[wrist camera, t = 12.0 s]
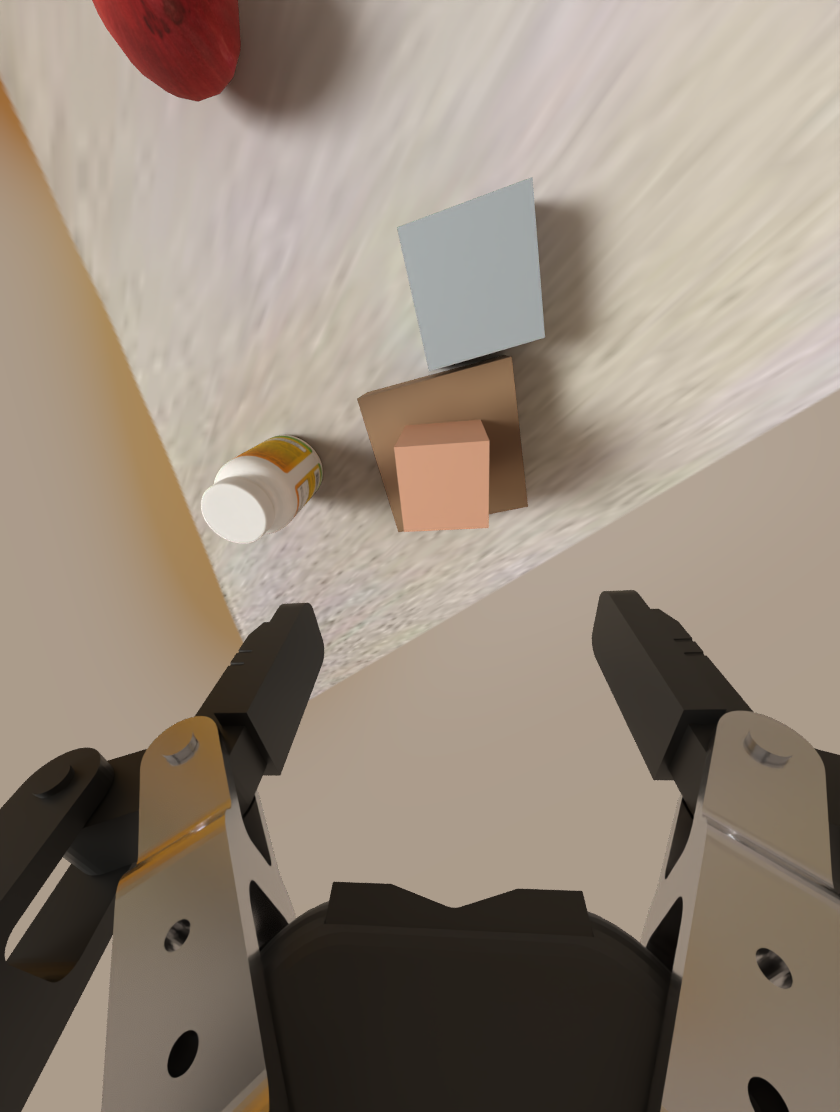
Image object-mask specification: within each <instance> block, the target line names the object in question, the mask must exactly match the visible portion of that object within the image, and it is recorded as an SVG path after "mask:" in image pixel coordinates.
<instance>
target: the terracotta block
mask: <svg viewBox="0 0 840 1112" xmlns="http://www.w3.org/2000/svg"><path fill="white" fill-rule="evenodd" d="M394 452H395V460H396V468H397V477H398V485H399V494H400V502H401V510H402V519H403V527H404V532H409V531H431V530H453V529H475V528H488V527H489V438H488V436H487V434H486V431H485V429H484V426H483V424H482V422H481V420H469V421H456V422H443V423H429V424H416V425H406V426H405V427H404V429H403V431H402V433H401V435H400V437H399V439H398V441H397V443H396V445H395V446H394Z"/></svg>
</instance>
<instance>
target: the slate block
mask: <svg viewBox="0 0 840 1112" xmlns="http://www.w3.org/2000/svg"><path fill="white" fill-rule="evenodd" d="M397 230H398V234H399V239H400V243H401V248H402V252H403V257H404V261H405V266H406V270H407V275H408V279H409V284H410V288H411V293H412V297H413V302H414V306H415V311H416V315H417V319H418V324H419V328H420V333H421V337H422V342H423V346H424V351H425V355H426V360H427V364H428V369H429V371H432V370H435V369H439V368H442V367H446V366H449V365H453V364H456V363H459V362H463V361H466V360H470V359H473V358H477V357H480V356H484V355H487V354H490V353H494V352H497V351H501V350H504V349H508V348H511V347H514V346H518V345H521V344H525V343H528V342H532V341H535V340H539V339H542V338H545V331H544V319H543V306H542V293H541V280H540V268H539V255H538V242H537V229H536V217H535V204H534V191H533V179H532V177H531V178H529V179H526V180H523V181H521V182H518V183H515V184H512V185H510V186H507V187H504V188H502V189H499V190H496V191H494V192H491V193H488V194H486V195H483V196H480V197H477V198H475V199H472V200H469V201H467V202H464V203H461V204H459V205H456V206H453V207H451V208H448V209H445V210H443V211H440V212H437V213H434V214H432V215H429V216H426V217H424V218H421V219H418V220H416V221H413V222H410V223H408V224H405V225H402V226H399V227H397Z"/></svg>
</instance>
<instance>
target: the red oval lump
mask: <svg viewBox="0 0 840 1112" xmlns="http://www.w3.org/2000/svg"><path fill="white" fill-rule="evenodd" d="M92 1H93V3H94V5H95V8H96V10H97V12H98V14H99V16H100V18H101V20H102V21H103V23H104V25H105V27H106V28H107V30H108V31H109V32H110V34H111V35H112V37H113V38H114V39H115V41H116V42H117V43H118V45H119V46H120V48H121V49H122V50H123V52H124V53H125V54H126V56H127V57H128V58H129V60H130V61H131V63H132V64H133V65H134V66H135V67H136V68H137V69H138V70H139V71H140V72H141V73H142V74H143V75H144V76H146V77H147V78H148V79H150V80H151V81H153V82H154V83H155V84H157V85H158V86H160V87H161V88H162V89H164V90H165V91H167V92H168V93H171V94H173V95H175V96H177V97H180V98H184V99H189V100H194V101H201V100H203V99H206V98H209V97H212V96H215V95H218V94H220V93H221V92H222V91H223V89H224V88H225V87H226V86H227V84H228V83H229V82H230V81H231V79H232V78H233V76H234V72H235V69H236V65H237V61H238V58H239V54H240V47H241V41H240V25H239V9H238V0H92Z"/></svg>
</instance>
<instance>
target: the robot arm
mask: <svg viewBox="0 0 840 1112" xmlns="http://www.w3.org/2000/svg"><path fill="white" fill-rule="evenodd" d="M592 646H593V651H594V655H595V658H596V660H597V662H598V664H599V666H600V668H601V670H602V672H603V675H604V677H605V679H606V681H607V683H608V685H609V687H610V689H611V691H612V694H613V695H614V698H615V700H616V702H617V704H618V706H619V708H620V710H621V712H622V714H623V716H624V719H625V721H626V723H627V725H628V727H629V729H630V731H631V733H632V736H633V738H634V740H635V742H636V744H637V746H638V748H639V750H640V752H641V754H642V756H643V759H644V761H645V763H646V765H647V767H648V769H649V771H650V773H651V775H652V778H653V780H674V781H675V783H676V785H677V787H678V788H679V791H680V792H681V795H680V797H679V799H678V802H677V807H676V811H675V815H674V819H673V824H672V828H671V832H670V836H669V840H668V845H667V849H666V853H665V858H664V862H663V866H662V870H661V875H660V879H659V883H658V886H657V889H656V893H655V896H654V898H653V901H652V903H651V906H650V909H649V912H648V915H647V918H646V921H645V925H644V929H643V932H642V937H641V940H640V943H639V942H638V941H637V940H636V939H634V938H633V937H632V936H631V935H629V934H628V933H626V932H625V931H623V930H622V929H620V928H619V927H617V926H616V925H614V924H613V923H611V922H609V921H607V920H605V919H603V918H602V917H600V916H598V915H596V914H593V913H590V912H588V911H587V908H586V904H585V900H584V896H583V892H582V891H564V890H538V889H515V890H512V891H509V892H506V893H503V894H500V895H497V896H494V897H490V898H487V899H484V900H481V901H478V902H475V903H472V904H469V905H465V906H462V907H459V908H451V907H447V906H445V905H442V904H440V903H437V902H435V901H432V900H430V899H427V898H425V897H422V896H420V895H417V894H415V893H412V892H410V891H407V890H405V889H402V888H400V887H397V886H395V885H392V884H377V883H376V884H375V883H350V882H333V885H332V890H331V895H330V900H329V901H328V902H325V903H323V904H321V905H319V906H317V907H315V908H312V909H310V910H308V911H307V912H305V913H304V914H302V915H301V916H299V917H298V918H296V916H295V912H294V909H293V906H292V903H291V900H290V898H289V895H288V892H287V890H286V888H285V886H284V884H283V881H282V878H281V876H280V873H279V869H278V866H277V862H276V859H275V854H274V851H273V847H272V843H271V839H270V835H269V831H268V827H267V824H266V820H265V816H264V812H263V808H262V804H261V800H260V796H259V794H258V792H257V787H258V785H259V783H260V781H261V778H262V776H263V775H281V771H282V769H283V767H284V764H285V761H286V759H287V756H288V753H289V750H290V748H291V745H292V743H293V740H294V737H295V735H296V732H297V729H298V727H299V724H300V721H301V718H302V716H303V714H304V710H305V708H306V706H307V703H308V700H309V698H310V695H311V692H312V690H313V687H314V684H315V682H316V679H317V676H318V674H319V671H320V668H321V666H322V663H323V659H324V643H323V639H322V636H321V633H320V630H319V627H318V623H317V620H316V617H315V614H314V611H313V608H312V606H311V605H310V604H309V603H292V604H282V605H280V606H279V608H278V609H277V611H276V613H275V614H274V616H273V617H272V619H271V621H270V622H264V623H263V624H261V625H260V626H259V627H258V628H257V629H255V630H254V631H253V632H252V633H251V634H250V635H248V637H247V638H246V640H245V641H244V643H243V644H242V646H241V647H240V649H239V653H237V654H236V655H235V657H234V658H233V660H232V661H231V665H230V666H228V667H227V669H226V670H225V672H224V673H223V675H222V676H221V678H220V679H219V681H218V682H217V684H216V685H215V687H214V688H213V690H212V691H211V693H210V694H209V696H208V697H207V699H206V700H205V702H204V703H203V705H202V707H201V708H200V709H199V711H198V712H197V714H196V715H195V716H194V717H190V718H187V719H184V720H182V721H179V722H177V723H176V724H174V725H172V726H171V727H169V728H167V729H166V730H165V731H164V732H162V733H161V734H160V735H159V736H158V737H157V738H156V739H155V740H154V741H153V742H152V743H151V744H150V746H149V747H148V749H145V750H142V751H139V752H135V753H132V754H128V755H125V756H122V757H119V758H115V759H112V760H109V761H106V759H105V758H104V757H103V756H102V755H101V754H100V753H99V752H98V751H97V750H95V749H93V748H79V749H76V750H72V751H70V752H67V753H65V754H63V755H60V756H58V757H57V758H55V759H53V760H51V761H50V762H48V763H47V764H45V765H44V766H42V767H41V768H40V769H39V770H37V771H36V772H35V773H34V774H33V775H31V776H30V777H29V778H28V779H27V780H26V781H25V782H24V783H23V784H22V785H21V787H20V788H19V789H18V790H17V791H16V792H15V793H14V794H13V796H12V797H11V798H10V799H9V800H8V801H7V802H6V803H5V804H4V805H3V807H2V808H1V809H0V1112H21V1111H22V1109H23V1107H24V1105H25V1103H26V1101H27V1099H28V1097H29V1095H30V1093H31V1091H32V1090H33V1087H34V1086H35V1084H36V1082H37V1080H38V1078H39V1076H40V1074H41V1072H42V1070H43V1068H44V1066H45V1064H46V1063H47V1060H48V1059H49V1056H50V1055H51V1053H52V1051H53V1049H54V1047H55V1045H56V1043H57V1041H58V1039H59V1037H60V1035H61V1034H62V1031H63V1030H64V1028H65V1026H66V1024H67V1022H68V1020H69V1018H70V1016H71V1014H72V1012H73V1010H74V1008H75V1006H76V1004H77V1003H78V1001H79V999H80V997H81V995H82V993H83V991H84V989H85V987H86V985H87V983H88V981H89V979H90V977H91V975H92V974H93V971H94V970H95V968H96V966H97V964H98V962H99V960H100V958H101V956H102V954H103V952H104V950H105V948H106V946H107V945H108V943H109V941H110V939H111V937H112V935H113V942H112V957H111V972H110V987H109V1002H108V1019H107V1035H106V1048H105V1049H106V1050H105V1063H104V1079H103V1094H102V1109H101V1112H840V755H837V754H833V753H829V752H825V751H821V750H818V749H815V748H813V746H812V745H811V744H810V743H809V742H808V741H807V740H806V739H804V738H803V737H802V736H801V735H800V734H798V733H797V732H796V731H794V730H793V729H791V728H789V727H788V726H787V725H785V724H783V723H781V722H779V721H777V720H775V719H773V718H770V717H768V716H765V715H762V714H758V713H754V712H753V711H752V710H751V709H750V708H749V706H748V705H747V704H746V703H745V701H744V700H743V699H742V698H741V696H740V695H739V694H738V693H737V692H736V690H735V689H734V688H733V687H732V686H731V684H730V683H729V682H728V681H727V680H726V678H725V677H724V676H723V675H722V674H721V672H720V671H719V670H718V669H717V668H716V666H715V665H714V664H713V663H712V662H711V660H710V659H709V658H708V657H707V656H704V654H703V651H702V649H701V648H700V647H699V646H698V645H697V643H696V642H693V641H692V637H691V636H690V635H689V634H688V633H687V632H686V631H685V629H684V628H683V627H682V625H681V624H680V623H679V622H678V621H676V620H675V619H673V618H672V617H670V616H669V615H667V614H666V613H664V612H663V611H661V610H660V609H650V608H649V607H648V605H647V604H646V603H645V602H644V600H643V599H642V598H641V596H640V595H639V594H638V593H637V592H636V591H634V590H624V591H604V592H602V593H601V595H600V597H599V602H598V607H597V612H596V617H595V622H594V627H593V633H592ZM62 857H63V858H65V859H66V860H68V861H69V862H70V863H71V865H70V867H69V868H68V869H67V871H66V872H65V874H64V876H63V877H62V879H61V880H60V881H59V883H58V884H57V886H56V888H55V889H54V891H53V892H52V893H51V895H50V897H49V898H48V899H47V901H46V903H45V904H44V906H43V907H42V909H41V910H40V912H39V913H38V914H37V916H36V917H35V919H34V920H33V922H32V923H31V925H30V926H29V928H28V929H27V931H26V932H25V934H24V935H23V937H22V938H21V940H20V942H19V943H18V944H17V946H16V947H15V949H14V950H13V952H12V953H11V955H10V956H9V958H8V959H7V961H5V956H4V954H5V947H6V944H7V941H8V938H9V936H10V934H11V932H12V930H13V928H14V927H15V925H16V924H17V922H18V921H19V919H20V918H21V916H22V915H23V913H24V912H25V911H26V909H27V908H28V906H29V905H30V903H31V902H32V900H33V899H34V897H35V896H36V895H37V893H38V892H39V890H40V889H41V887H42V886H43V885H44V883H45V881H46V880H47V878H48V877H49V876H50V874H51V873H52V872H53V870H54V869H55V867H56V866H57V864H58V863H59V861H60V860H61V859H62Z"/></svg>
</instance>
